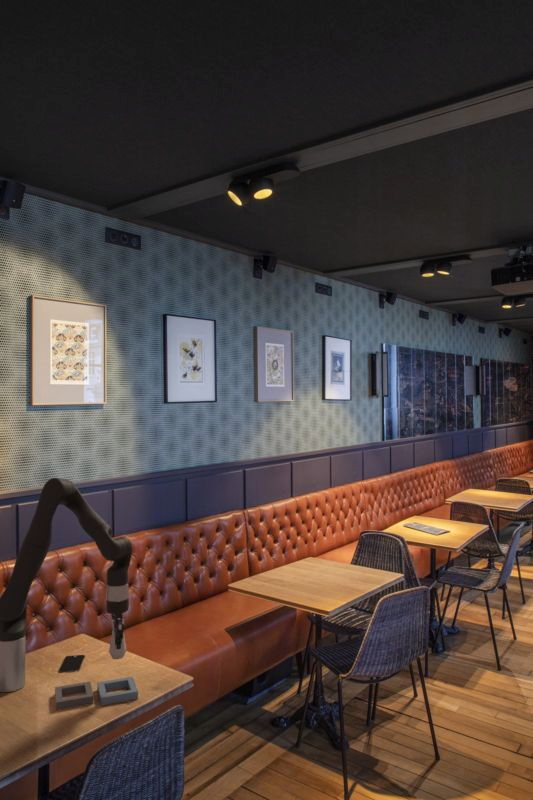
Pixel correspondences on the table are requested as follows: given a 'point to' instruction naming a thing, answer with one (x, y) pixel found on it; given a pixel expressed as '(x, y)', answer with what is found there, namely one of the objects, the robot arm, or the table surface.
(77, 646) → the table surface
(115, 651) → the salt shaker
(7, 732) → the table surface
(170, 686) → the table surface
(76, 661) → the smartphone
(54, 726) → the table surface
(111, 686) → the collar
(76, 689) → the collar
